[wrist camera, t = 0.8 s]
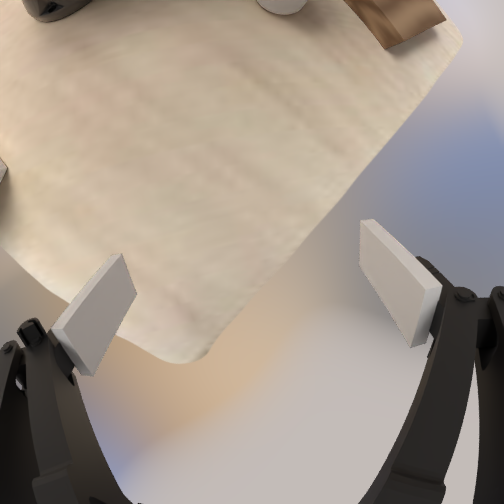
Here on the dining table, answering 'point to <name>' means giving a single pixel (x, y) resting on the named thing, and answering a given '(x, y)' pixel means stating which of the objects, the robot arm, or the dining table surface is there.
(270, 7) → the beverage can
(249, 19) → the dining table surface
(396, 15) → the walnut block
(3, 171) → the supplement box
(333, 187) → the dining table surface
